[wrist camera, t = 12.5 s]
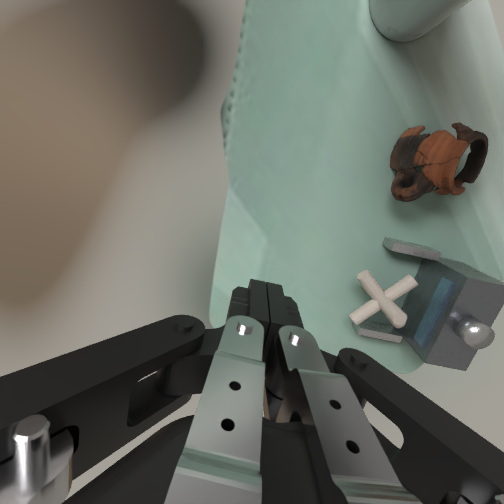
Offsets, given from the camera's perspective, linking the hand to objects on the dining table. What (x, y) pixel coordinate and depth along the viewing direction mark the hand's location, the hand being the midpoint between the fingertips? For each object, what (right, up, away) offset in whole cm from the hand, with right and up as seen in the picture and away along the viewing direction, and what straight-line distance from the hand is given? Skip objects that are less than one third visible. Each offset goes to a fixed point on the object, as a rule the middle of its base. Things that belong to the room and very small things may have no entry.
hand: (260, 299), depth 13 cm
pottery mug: (+23, +14, +26) cm, 37 cm away
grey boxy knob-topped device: (+24, -4, +32) cm, 40 cm away
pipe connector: (+18, -3, +31) cm, 36 cm away
